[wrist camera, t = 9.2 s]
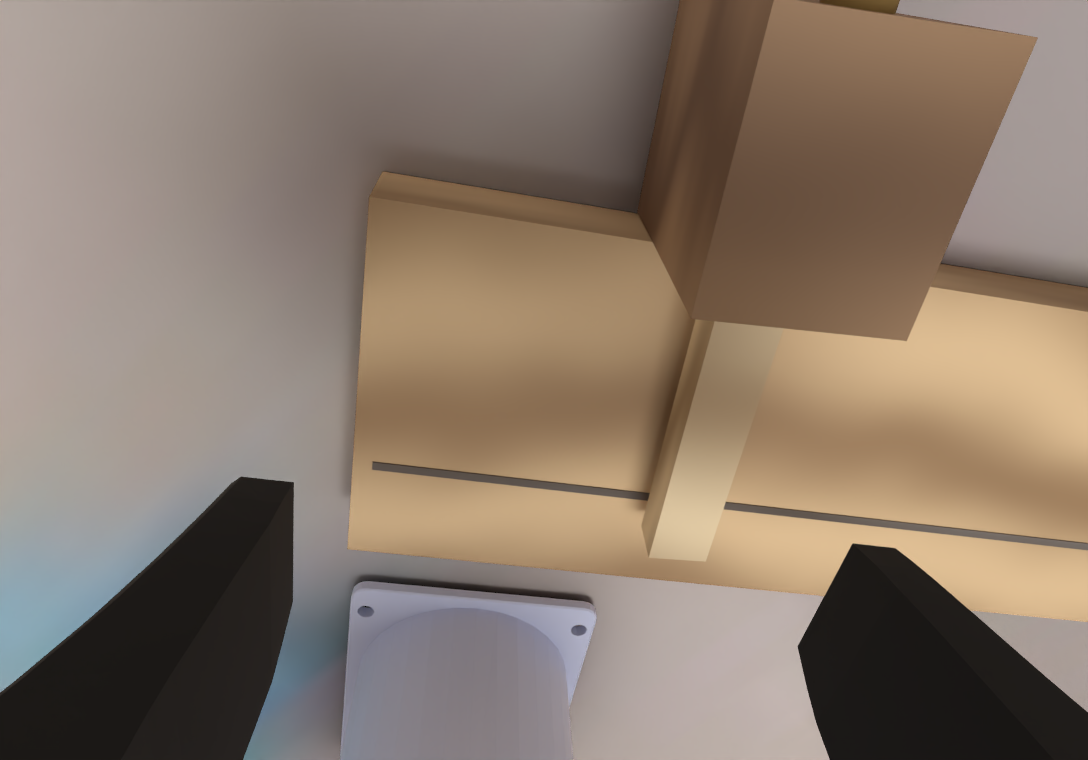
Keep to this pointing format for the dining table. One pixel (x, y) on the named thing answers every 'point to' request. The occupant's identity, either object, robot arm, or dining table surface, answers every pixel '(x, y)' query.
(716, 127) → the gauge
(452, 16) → the dining table surface
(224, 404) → the dining table surface
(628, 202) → the dining table surface
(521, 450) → the board
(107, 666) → the robot arm
